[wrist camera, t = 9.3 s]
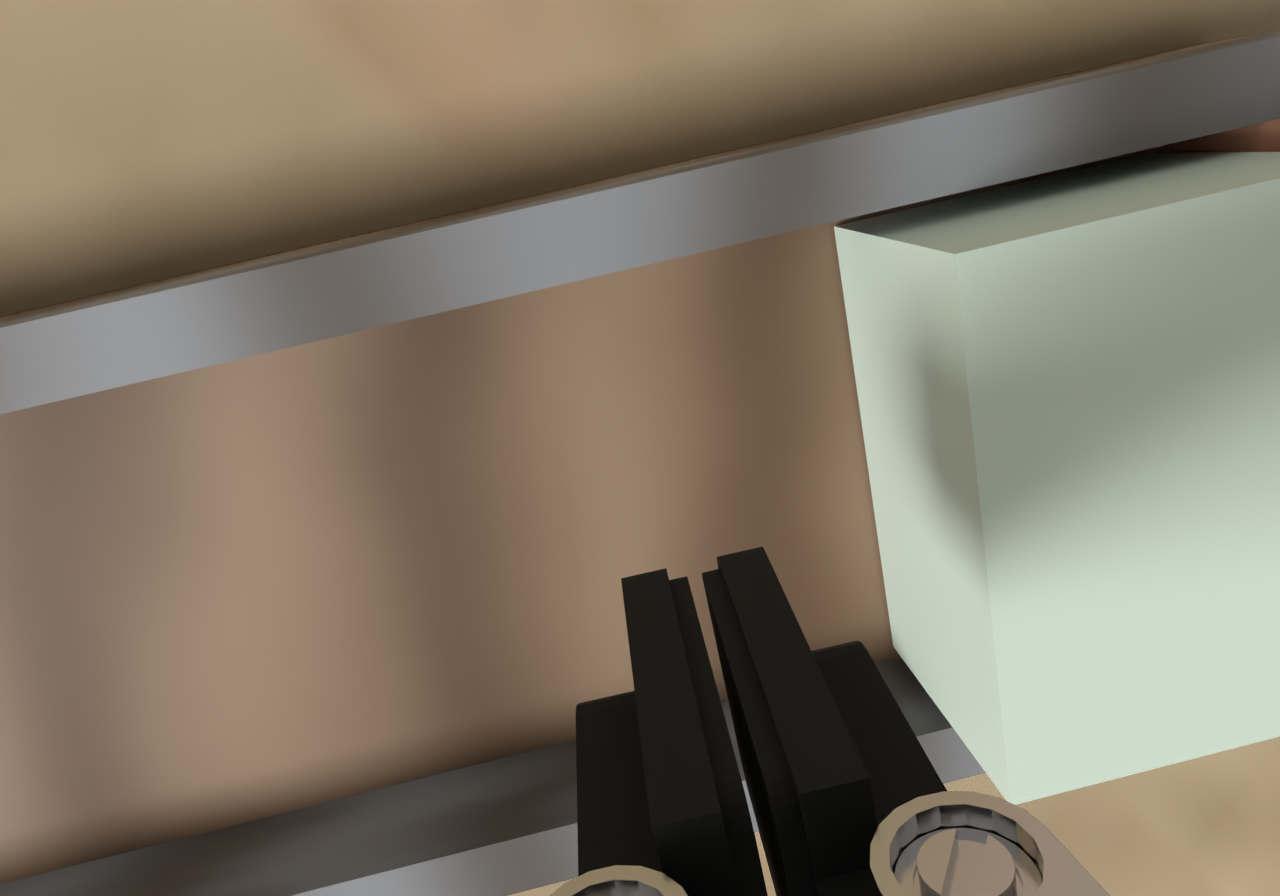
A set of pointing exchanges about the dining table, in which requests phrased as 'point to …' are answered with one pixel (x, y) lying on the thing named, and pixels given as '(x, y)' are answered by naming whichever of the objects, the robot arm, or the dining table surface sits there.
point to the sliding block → (1080, 460)
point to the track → (465, 496)
